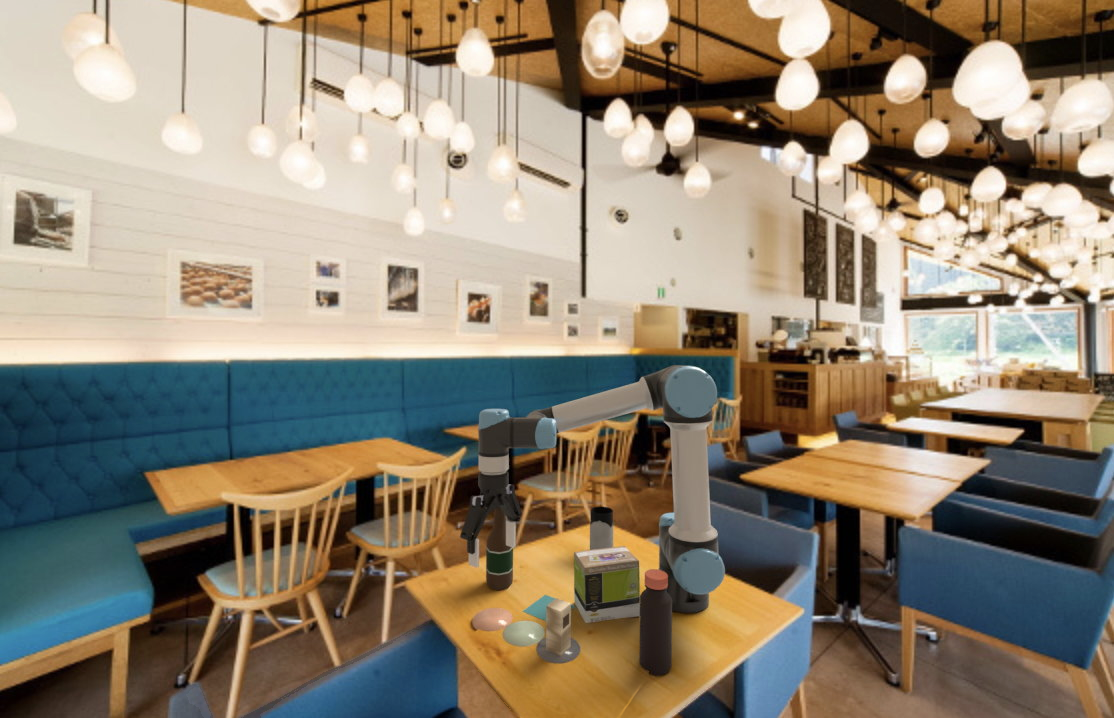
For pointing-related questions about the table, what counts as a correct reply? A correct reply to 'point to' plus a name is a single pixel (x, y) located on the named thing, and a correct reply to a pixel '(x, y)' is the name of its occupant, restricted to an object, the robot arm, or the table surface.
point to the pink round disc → (492, 619)
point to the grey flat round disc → (554, 658)
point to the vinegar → (656, 624)
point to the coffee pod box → (606, 584)
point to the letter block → (558, 626)
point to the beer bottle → (499, 555)
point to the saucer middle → (523, 633)
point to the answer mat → (540, 607)
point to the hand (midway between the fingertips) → (493, 555)
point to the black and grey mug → (601, 528)
